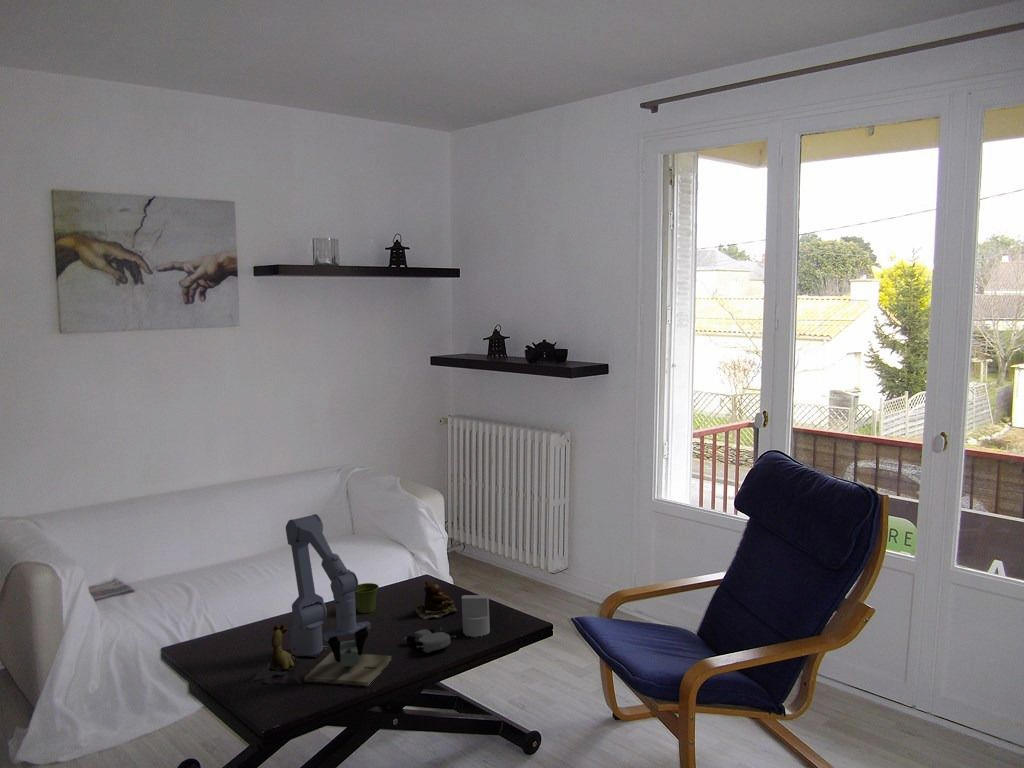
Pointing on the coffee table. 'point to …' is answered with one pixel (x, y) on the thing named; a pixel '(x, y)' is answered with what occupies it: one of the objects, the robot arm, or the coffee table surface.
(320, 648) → the robot arm
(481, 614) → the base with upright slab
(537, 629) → the coffee table surface
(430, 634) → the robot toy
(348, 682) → the base
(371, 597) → the plant pot
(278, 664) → the stuffed giraffe
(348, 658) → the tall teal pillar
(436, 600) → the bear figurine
